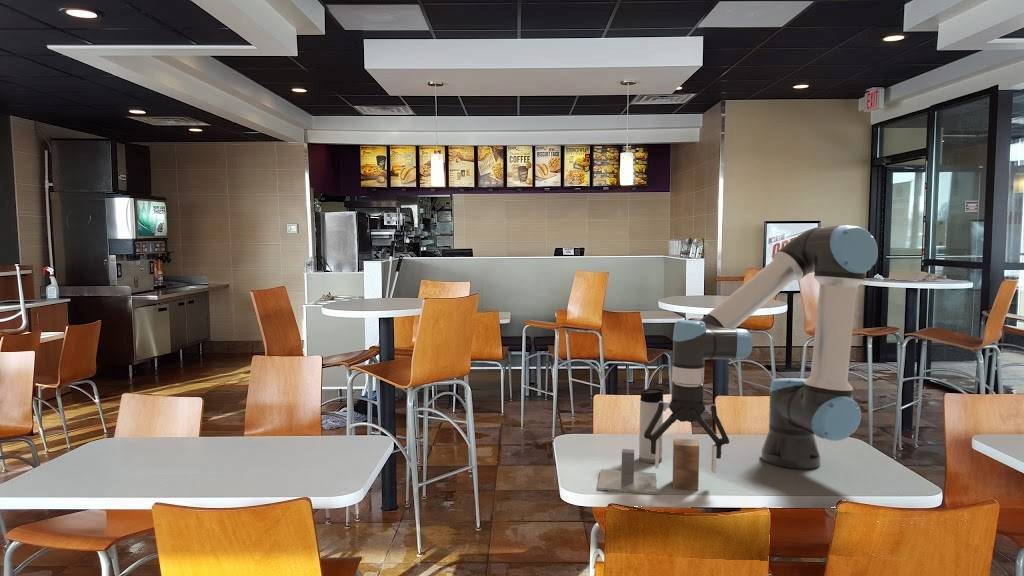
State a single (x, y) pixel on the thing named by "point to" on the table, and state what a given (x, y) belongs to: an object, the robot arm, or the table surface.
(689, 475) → the tall wooden peg
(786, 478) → the table surface
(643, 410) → the travel mug
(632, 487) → the post
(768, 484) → the table surface
